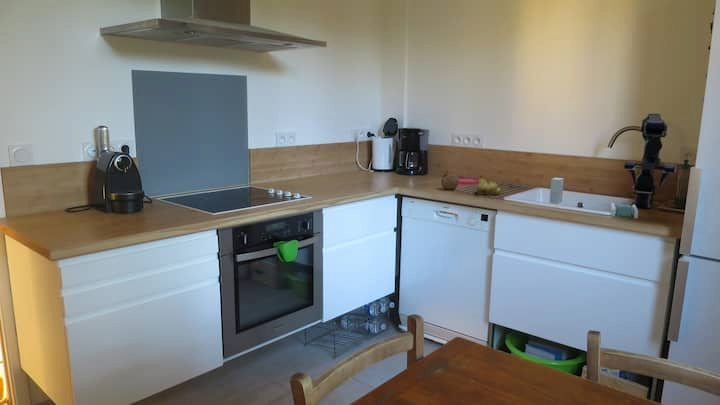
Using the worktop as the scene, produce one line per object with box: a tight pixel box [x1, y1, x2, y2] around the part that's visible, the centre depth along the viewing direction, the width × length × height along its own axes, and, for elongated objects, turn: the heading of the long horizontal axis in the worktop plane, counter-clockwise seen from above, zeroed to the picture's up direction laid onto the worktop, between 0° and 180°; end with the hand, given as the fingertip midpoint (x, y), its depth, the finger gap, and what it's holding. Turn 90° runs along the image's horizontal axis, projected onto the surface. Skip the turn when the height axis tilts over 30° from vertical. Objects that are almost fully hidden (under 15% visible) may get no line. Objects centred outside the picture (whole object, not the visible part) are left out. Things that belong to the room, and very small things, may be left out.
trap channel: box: [609, 202, 639, 219], centre depth 230 cm, size 15×10×3 cm, turn 157°
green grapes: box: [476, 177, 502, 196], centre depth 272 cm, size 13×10×8 cm
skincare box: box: [548, 177, 565, 205], centre depth 251 cm, size 6×4×12 cm
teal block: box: [615, 203, 633, 217], centre depth 229 cm, size 6×6×4 cm
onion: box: [440, 173, 459, 191], centre depth 284 cm, size 10×9×10 cm
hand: (647, 186), depth 220 cm, fingers open, 9 cm apart
